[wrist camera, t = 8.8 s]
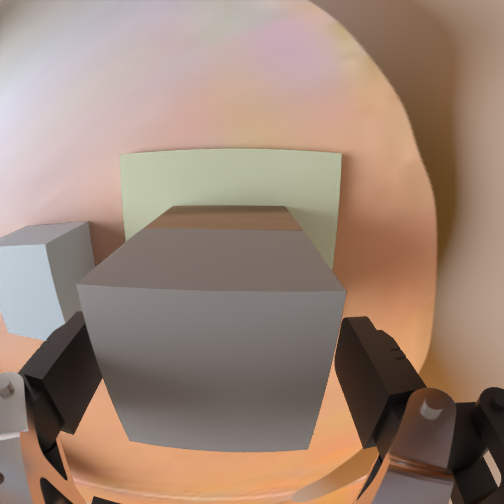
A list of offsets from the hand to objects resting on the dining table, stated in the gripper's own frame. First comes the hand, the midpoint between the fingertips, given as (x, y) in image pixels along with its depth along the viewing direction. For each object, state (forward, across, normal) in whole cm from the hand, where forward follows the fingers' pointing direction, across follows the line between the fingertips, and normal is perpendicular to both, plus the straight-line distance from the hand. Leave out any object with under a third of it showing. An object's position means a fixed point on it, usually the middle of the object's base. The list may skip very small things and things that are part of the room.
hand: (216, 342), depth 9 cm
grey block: (+3, 0, 0) cm, 3 cm away
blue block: (+9, +12, +1) cm, 15 cm away
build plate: (+9, 0, 0) cm, 9 cm away
